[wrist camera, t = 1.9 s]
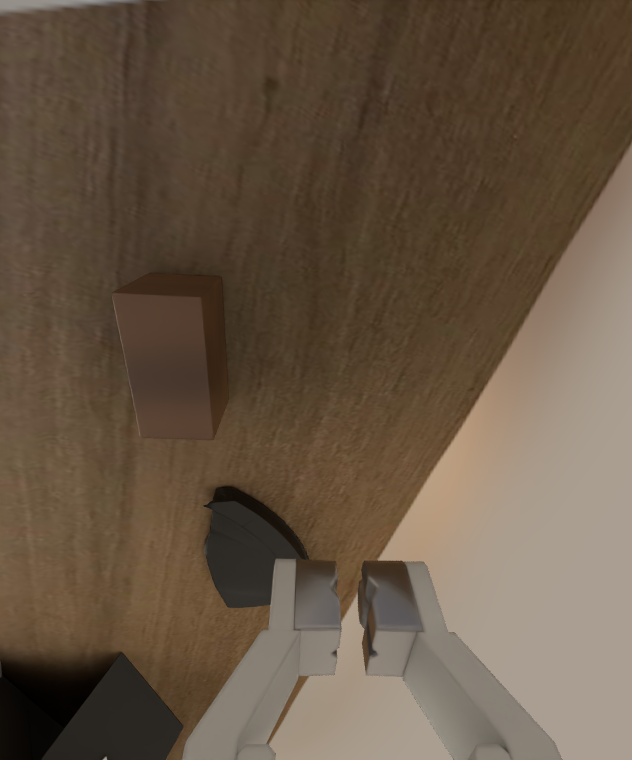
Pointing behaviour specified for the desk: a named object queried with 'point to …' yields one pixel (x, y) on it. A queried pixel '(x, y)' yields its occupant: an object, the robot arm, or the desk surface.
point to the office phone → (91, 723)
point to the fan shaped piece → (246, 548)
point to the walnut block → (175, 353)
